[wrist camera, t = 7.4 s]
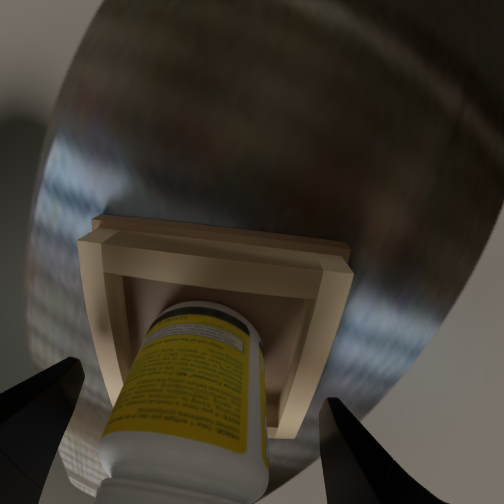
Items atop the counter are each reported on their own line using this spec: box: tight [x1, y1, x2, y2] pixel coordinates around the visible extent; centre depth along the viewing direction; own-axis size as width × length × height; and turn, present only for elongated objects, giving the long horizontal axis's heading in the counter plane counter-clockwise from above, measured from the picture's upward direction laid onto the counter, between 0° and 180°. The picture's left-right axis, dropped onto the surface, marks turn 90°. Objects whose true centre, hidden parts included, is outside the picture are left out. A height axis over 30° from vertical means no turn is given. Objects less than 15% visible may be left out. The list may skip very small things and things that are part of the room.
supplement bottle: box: [95, 301, 269, 504], centre depth 7 cm, size 5×5×8 cm
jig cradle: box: [77, 214, 354, 439], centre depth 11 cm, size 10×10×2 cm
